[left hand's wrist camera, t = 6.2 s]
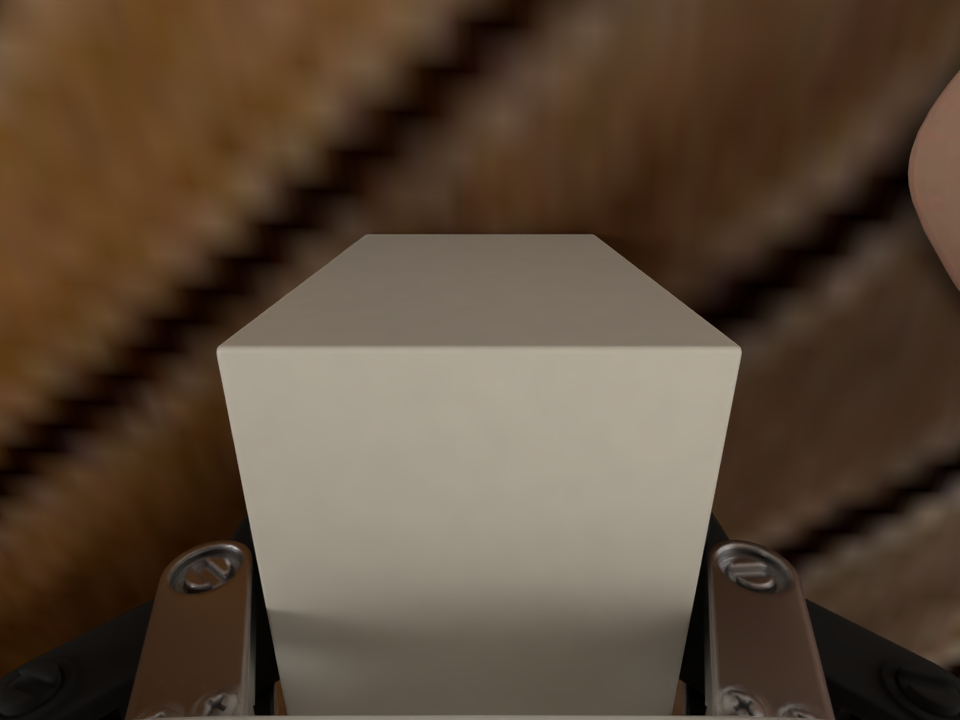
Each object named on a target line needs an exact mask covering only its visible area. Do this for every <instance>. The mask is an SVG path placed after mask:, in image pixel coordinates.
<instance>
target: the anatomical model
mask: <svg viewBox="0 0 960 720" xmlns="http://www.w3.org/2000/svg"><path fill="white" fill-rule="evenodd" d="M908 179H909V188H910V193H911V198H912V202H913V205H914V207H915V210H916V212H917V215H918V217H919V220H920V222H921V225H922V227H923V230H924V232H925V234H926V235H927V237H928V239H929V241H930V242H931V244H932V246H933V248H934V249H935V251H936V253H937V255H938V257H939V258H940V260H941V262H942V264H943V265H944V267H945V269H946V271H947V273H948V274H949V276H950V278H951V280H952V281H953V283H954V284H955V286H956V287H957V289H958V290H959V292H960V70H959V71H958V73H957V74H956V75H955V76H954V78H953V79H952V80H951V81H950V83H949V84H948V85H947V86H946V88H945V89H944V90H943V92H942V93H941V94H940V96H939V97H938V99H937V100H936V102H935V103H934V105H933V106H932V108H931V109H930V111H929V113H928V115H927V116H926V118H925V120H924V122H923V124H922V126H921V127H920V129H919V131H918V133H917V136H916V139H915V142H914V145H913V147H912V151H911V154H910V159H909V169H908Z"/></svg>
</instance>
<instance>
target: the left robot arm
mask: <svg viewBox="0 0 960 720" xmlns="http://www.w3.org/2000/svg"><path fill="white" fill-rule="evenodd" d="M679 679H680V680H681V681H683V686H682V716H569V715H393V716H278V686H277V681H278V680H280V676H279V671H278V666H277V661H276V655H275V650H274V645H273V640H272V635H271V630H270V625H269V620H268V614H267V609H266V604H265V599H264V594H263V589H262V584H261V579H260V573H259V568H258V563H257V558H256V553H255V548H254V543H253V538H252V532H251V527H250V522H249V517H248V513H247V514H246V516H245V517H244V519H243V520H242V522H241V524H240V525H239V527H238V528H237V530H236V532H235V533H234V535H233V536H232V538H231V539H230V540H219V541H211V542H208V543H205V544H201V545H198V546H196V547H194V548H192V549H190V550H188V551H185V552H184V553H182V554H181V555H180V556H178V557H177V558H175V559H174V560H173V561H172V562H171V563H170V564H169V565H168V566H167V567H166V568H165V570H164V571H163V574H162V576H161V578H160V580H159V584H158V588H157V592H156V596H155V599H153V600H151V601H149V602H147V603H145V604H143V605H141V606H139V607H137V608H135V609H133V610H131V611H129V612H127V613H125V614H123V615H121V616H119V617H117V618H115V619H113V620H111V621H109V622H107V623H105V624H103V625H101V626H99V627H97V628H95V629H93V630H91V631H89V632H87V633H85V634H83V635H81V636H79V637H77V638H75V639H73V640H71V641H69V642H67V643H65V644H63V645H61V646H59V647H57V648H55V649H53V650H51V651H49V652H47V653H45V654H43V655H41V656H39V657H37V658H35V659H33V660H31V661H29V662H27V663H25V664H23V665H22V666H20V667H18V668H17V669H15V670H13V671H12V672H10V673H8V674H7V675H5V676H4V677H3V678H2V679H0V720H960V680H959V679H958V678H957V677H956V676H954V675H953V674H952V673H950V672H948V671H946V670H945V669H943V668H941V667H940V666H938V665H936V664H935V663H933V662H931V661H929V660H927V659H925V658H923V657H921V656H919V655H917V654H915V653H913V652H911V651H909V650H907V649H905V648H903V647H901V646H899V645H897V644H895V643H893V642H891V641H889V640H887V639H885V638H883V637H881V636H879V635H877V634H875V633H873V632H871V631H869V630H867V629H865V628H863V627H861V626H859V625H857V624H855V623H853V622H851V621H849V620H847V619H845V618H843V617H841V616H839V615H837V614H835V613H833V612H831V611H829V610H827V609H825V608H823V607H821V606H819V605H817V604H815V603H813V602H811V601H809V600H807V599H805V596H804V592H803V588H802V584H801V580H800V578H799V576H798V574H797V571H796V570H795V568H794V567H793V566H792V565H791V564H790V563H789V562H788V561H787V560H786V559H785V558H783V557H782V556H780V555H779V554H778V553H776V552H775V551H772V550H770V549H768V548H766V547H764V546H762V545H759V544H755V543H752V542H749V541H741V540H729V538H728V537H727V535H726V534H725V532H724V530H723V529H722V527H721V526H720V524H719V523H718V521H717V519H716V518H715V516H714V515H713V513H712V512H711V514H710V519H709V525H708V530H707V535H706V540H705V545H704V550H703V556H702V561H701V566H700V571H699V576H698V581H697V586H696V592H695V597H694V602H693V607H692V612H691V617H690V623H689V628H688V633H687V638H686V643H685V648H684V653H683V659H682V664H681V669H680V674H679Z"/></svg>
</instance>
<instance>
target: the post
mask: <svg viewBox="0 0 960 720" xmlns="http://www.w3.org/2000/svg"><path fill="white" fill-rule="evenodd" d="M741 354H742V351H741V347H740V346H738V345H737V344H736V343H734V342H733V341H732V340H731V339H729V338H728V337H727V336H725V335H724V334H723V333H721V332H720V331H719V330H718V329H716V328H715V327H714V326H712V325H711V324H710V323H708V322H707V321H706V320H704V319H703V318H702V317H701V316H699V315H698V314H697V313H695V312H694V311H693V310H691V309H690V308H689V307H688V306H686V305H685V304H684V303H682V302H681V301H680V300H678V299H677V298H676V297H674V296H673V295H672V294H671V293H669V292H668V291H667V290H665V289H664V288H663V287H661V286H660V285H659V284H658V283H656V282H655V281H654V280H652V279H651V278H650V277H648V276H647V275H646V274H644V273H643V272H642V271H641V270H639V269H638V268H637V267H635V266H634V265H633V264H631V263H630V262H629V261H628V260H626V259H625V258H624V257H622V256H621V255H620V254H618V253H617V252H616V251H615V250H613V249H612V248H611V247H609V246H608V245H607V244H605V243H604V242H603V241H601V240H600V239H599V238H598V237H596V236H595V235H593V234H367V235H365V236H364V237H362V238H361V239H360V240H358V241H357V242H356V243H354V244H353V245H352V246H350V247H349V248H348V249H346V250H345V251H344V252H342V253H341V254H340V255H338V256H337V257H336V258H334V259H333V260H332V261H331V262H329V263H328V264H327V265H325V266H324V267H323V268H321V269H320V270H319V271H317V272H316V273H315V274H313V275H312V276H311V277H309V278H308V279H307V280H305V281H304V282H303V283H301V284H300V285H299V286H298V287H296V288H295V289H294V290H292V291H291V292H290V293H288V294H287V295H286V296H284V297H283V298H282V299H280V300H279V301H278V302H276V303H275V304H274V305H272V306H271V307H270V308H268V309H267V310H266V311H265V312H263V313H262V314H261V315H259V316H258V317H257V318H255V319H254V320H253V321H251V322H250V323H249V324H247V325H246V326H245V327H243V328H242V329H241V330H239V331H238V332H237V333H235V334H234V335H233V336H231V337H230V338H229V339H228V340H226V341H225V342H224V343H222V344H221V345H220V346H218V348H217V358H218V363H219V368H220V374H221V379H222V384H223V389H224V394H225V399H226V404H227V409H228V415H229V420H230V425H231V430H232V435H233V440H234V445H235V450H236V456H237V461H238V466H239V471H240V476H241V481H242V486H243V491H244V497H245V502H246V507H247V512H248V517H249V522H250V527H251V532H252V538H253V543H254V548H255V553H256V558H257V563H258V568H259V573H260V579H261V584H262V589H263V594H264V599H265V604H266V609H267V614H268V620H269V625H270V630H271V635H272V640H273V645H274V650H275V655H276V661H277V666H278V671H279V676H280V681H281V686H282V691H283V696H284V702H285V707H286V712H287V716H393V715H569V716H671V715H672V710H673V705H674V700H675V695H676V690H677V684H678V679H679V674H680V669H681V664H682V659H683V653H684V648H685V643H686V638H687V633H688V628H689V623H690V617H691V612H692V607H693V602H694V597H695V592H696V586H697V581H698V576H699V571H700V566H701V561H702V556H703V550H704V545H705V540H706V535H707V530H708V525H709V519H710V514H711V509H712V504H713V499H714V494H715V489H716V483H717V478H718V473H719V468H720V463H721V458H722V452H723V447H724V442H725V437H726V432H727V427H728V421H729V416H730V411H731V406H732V401H733V396H734V391H735V385H736V380H737V375H738V370H739V365H740V360H741Z"/></svg>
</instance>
